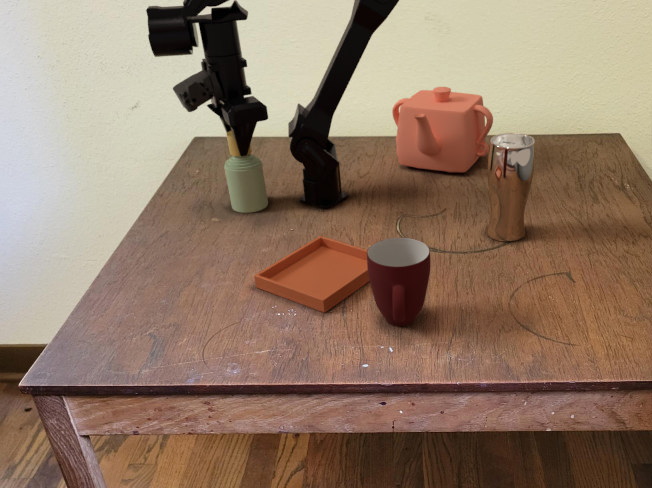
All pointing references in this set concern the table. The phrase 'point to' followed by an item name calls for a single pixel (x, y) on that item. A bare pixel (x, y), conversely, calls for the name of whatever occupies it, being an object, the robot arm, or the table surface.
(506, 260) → the table surface
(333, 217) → the table surface
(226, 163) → the bottle
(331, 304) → the tray
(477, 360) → the table surface
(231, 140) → the bottle cap
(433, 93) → the teapot
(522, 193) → the beer glass
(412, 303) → the mug
